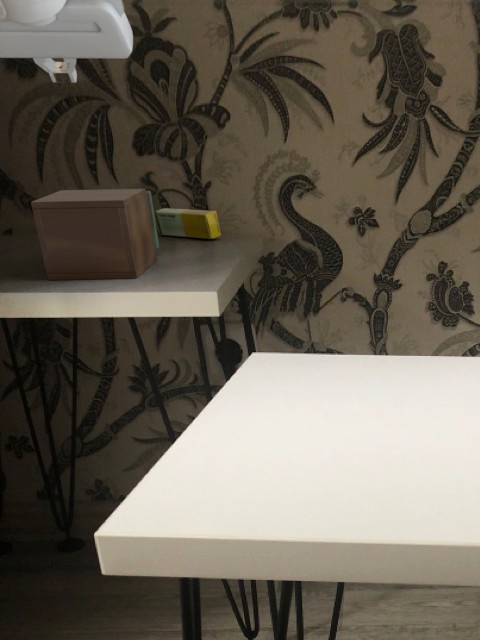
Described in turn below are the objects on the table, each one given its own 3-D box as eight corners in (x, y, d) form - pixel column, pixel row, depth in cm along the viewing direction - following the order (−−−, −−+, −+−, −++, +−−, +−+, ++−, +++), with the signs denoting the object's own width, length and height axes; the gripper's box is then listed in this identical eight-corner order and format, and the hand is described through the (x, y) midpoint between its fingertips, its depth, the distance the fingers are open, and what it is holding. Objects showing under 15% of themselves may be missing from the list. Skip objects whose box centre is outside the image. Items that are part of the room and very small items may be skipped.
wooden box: (75, 262, 133) (61, 190, 128) (157, 260, 133) (145, 188, 129) (48, 280, 121) (30, 202, 116) (137, 278, 122) (123, 200, 117)
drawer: (98, 242, 142) (88, 188, 138) (166, 241, 143) (158, 187, 139) (65, 263, 126) (53, 202, 123) (142, 262, 127) (132, 201, 123)
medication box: (159, 236, 154) (153, 210, 152) (171, 232, 156) (164, 207, 153) (211, 239, 148) (205, 213, 146) (222, 235, 150) (217, 209, 148)
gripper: (117, -39, 107) (147, 59, 121) (-64, -42, 106) (-13, 58, 119) (115, 3, 106) (146, 98, 119) (-69, 1, 104) (-17, 98, 117)
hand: (65, 78), depth 119 cm, fingers closed
